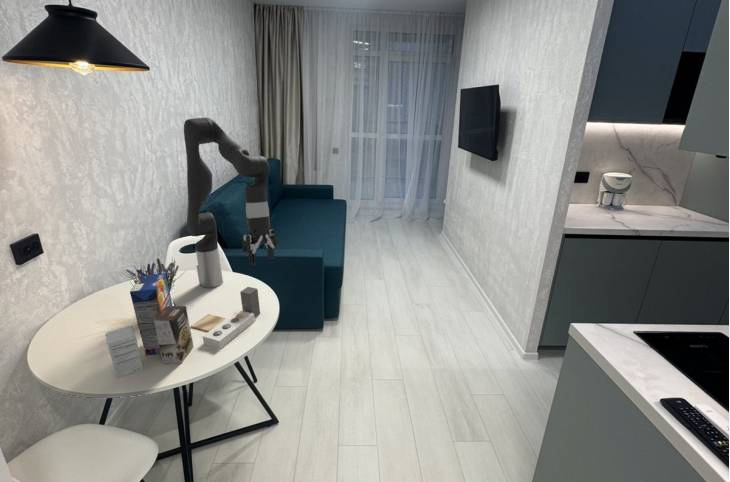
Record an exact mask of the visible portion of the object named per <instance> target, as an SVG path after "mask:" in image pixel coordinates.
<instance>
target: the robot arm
mask: <svg viewBox="0 0 730 482" xmlns="http://www.w3.org/2000/svg"><path fill="white" fill-rule="evenodd" d="M183 136H184V138H183V139H184V144H185V145H184V146H185V153H186V174H187V175H186V181H187V183H186V185H187V214H186V215H187V216H186V227H187V231H188V233H189V234H190V236H192V237H200V236H201V237H202V236H203V237H202V238H201V239H200V240H198V241H196V243H195V244H194V246H195V247H194V248H195V254H196V261H197V265H196V272H197V277H198V282H199V283H198V284H199V286H202V287H203V288H205V289H210V288H215V287H216V288H217V287H219V286H220V285H221V286H222V284H223V283H224V280H223V279H224V278H223V272H222V265H221V258H220V253H219V245H218V241H219V240H218V233H217V232H218V229H217V223H216V218H215V216H214V214H213V213H211V212H209V211H207V212H203V213H201V209H202V207H203V205H204V204H205V203H206V201H207V200H208V198H209V197H210V195H211V193H212V190H213V174H212V171H211V170H210V168H209V167H208V165H207V164H206V163H205V162H204V160H203V159H202V157H201V154H200V145H204V144H212V143H215V144H218V148H217V149H218V152H219V154H220V155H221V157H222V158H223V159H224V160H226V161H227V162H229V163H230V164H231V165H232V166H233V168H234V169H235V171H236V172H237V174H238V175H239V176H242V177H243V178H254V179H253V181H252V183H251V184H248V185H246V186H245V187H244V197H245V213H246V214H245V215H246V225H247V226H246V227H247V230H248V231H249V234H243V235H242V236H241V241H242V253H244V254H248V262H249V264H250V265H254V266H255V265H257V256H256V251H257V249H258V248H259V246H262V245H265V247H266V251H267V252H266V253H267V254H266V255H267V259H268V260H273V259H275V258H274V257H275V251H274V249H275V247H277V246H278V244H279V243H278V237H277V230H276V229H271V219H270V209H269V205H268V195H267V188H268V187H267V186H268V181H269V175H270V164H269V162H268V160H267V158H266V157H265V156H262V155H250V153H249V151H248V150H247V149H246V148H245V147H244V146H242V145H241V144H239V143H238V142H237V141H235V140H233V138H231V136H229V135H228V133H227V132H226V131H225V130H224V129H223V128H222V127H221V126H220V125H219V124H218V123H217V122H216V121H215V120H213V119H212V118H210V117H197V118H196V117H195V118H187V119H185V121H184V123H183Z"/></svg>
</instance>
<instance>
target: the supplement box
mask: <svg viewBox="0 0 730 482" xmlns="http://www.w3.org/2000/svg"><path fill="white" fill-rule="evenodd" d="M105 338H106V344H107V349H108V351H109V354H110V358H111V362H112V365H113V368H114V369H113V370H114V372H115V376H116V378H118V377H119V378H122V377H124V375H125V376H128V375H130V374H133V373H136V372H139V371H142V370H143V369H144V366H143V360H142V357H141V353H140V348H139V345H138V341H137V337H136V334H135V331H134V328H133V325H128V326H124V327H121V328H118V329H115V330H111V331H108V332H105ZM127 374H128V375H127Z"/></svg>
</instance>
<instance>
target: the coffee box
mask: <svg viewBox="0 0 730 482" xmlns="http://www.w3.org/2000/svg"><path fill="white" fill-rule="evenodd" d="M154 324H155V328H156V333H157V338H158V342H159V347H160V351H161V354H160V355H161V361H162V363H163V364H178V365H179V364H182V363H183V362H184V361H185V359H186V358H187V357H188V356H189V354H190V352H191V351H192V350H193V349H194V342H193V336H192V331H191V325H190V320H189V316H188V310H187V306H186V305H172V306H168V307H167V308H166V309H165V310H164V311H163V312H162V313H161V314H160V315H159V316H158V317H157V318H156V319H155V320H154Z"/></svg>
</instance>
